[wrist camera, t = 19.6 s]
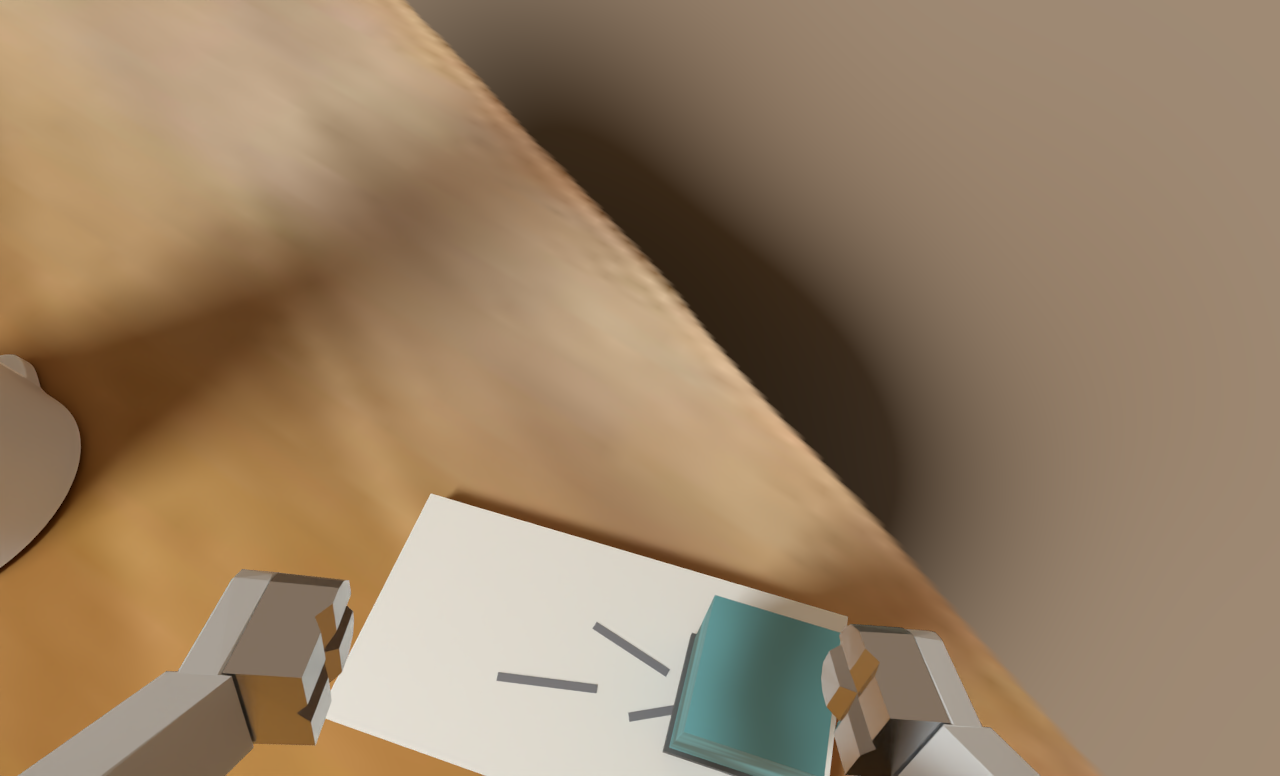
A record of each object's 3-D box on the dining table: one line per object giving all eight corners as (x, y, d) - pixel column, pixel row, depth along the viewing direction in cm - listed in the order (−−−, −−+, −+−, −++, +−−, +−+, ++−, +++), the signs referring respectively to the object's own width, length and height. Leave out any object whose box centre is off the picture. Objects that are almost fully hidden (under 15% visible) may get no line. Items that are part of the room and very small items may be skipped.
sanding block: (662, 752, 30) (677, 736, 23) (690, 636, 33) (711, 588, 26) (775, 790, 30) (828, 786, 22) (794, 669, 33) (847, 629, 25)
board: (330, 719, 32) (317, 715, 31) (437, 503, 39) (430, 493, 37) (807, 889, 29) (816, 893, 28) (840, 623, 35) (848, 616, 34)
